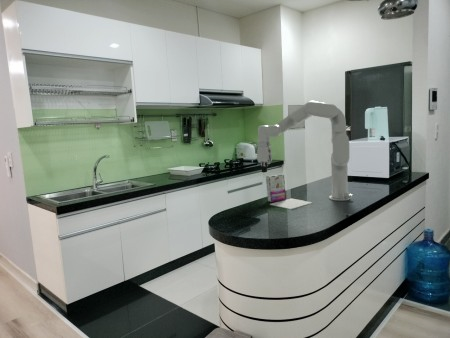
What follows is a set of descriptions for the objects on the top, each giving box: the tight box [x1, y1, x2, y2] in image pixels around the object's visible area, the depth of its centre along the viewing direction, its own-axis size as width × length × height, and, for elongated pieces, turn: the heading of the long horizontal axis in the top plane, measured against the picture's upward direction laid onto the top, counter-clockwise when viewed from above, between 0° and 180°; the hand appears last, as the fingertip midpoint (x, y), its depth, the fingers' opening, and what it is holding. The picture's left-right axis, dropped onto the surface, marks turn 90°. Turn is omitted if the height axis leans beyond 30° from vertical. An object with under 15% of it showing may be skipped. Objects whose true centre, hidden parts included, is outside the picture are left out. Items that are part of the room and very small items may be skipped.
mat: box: [269, 198, 313, 210], centre depth 209 cm, size 17×20×1 cm
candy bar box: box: [265, 174, 287, 203], centre depth 218 cm, size 11×5×16 cm, turn 112°
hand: (264, 172), depth 224 cm, fingers closed
